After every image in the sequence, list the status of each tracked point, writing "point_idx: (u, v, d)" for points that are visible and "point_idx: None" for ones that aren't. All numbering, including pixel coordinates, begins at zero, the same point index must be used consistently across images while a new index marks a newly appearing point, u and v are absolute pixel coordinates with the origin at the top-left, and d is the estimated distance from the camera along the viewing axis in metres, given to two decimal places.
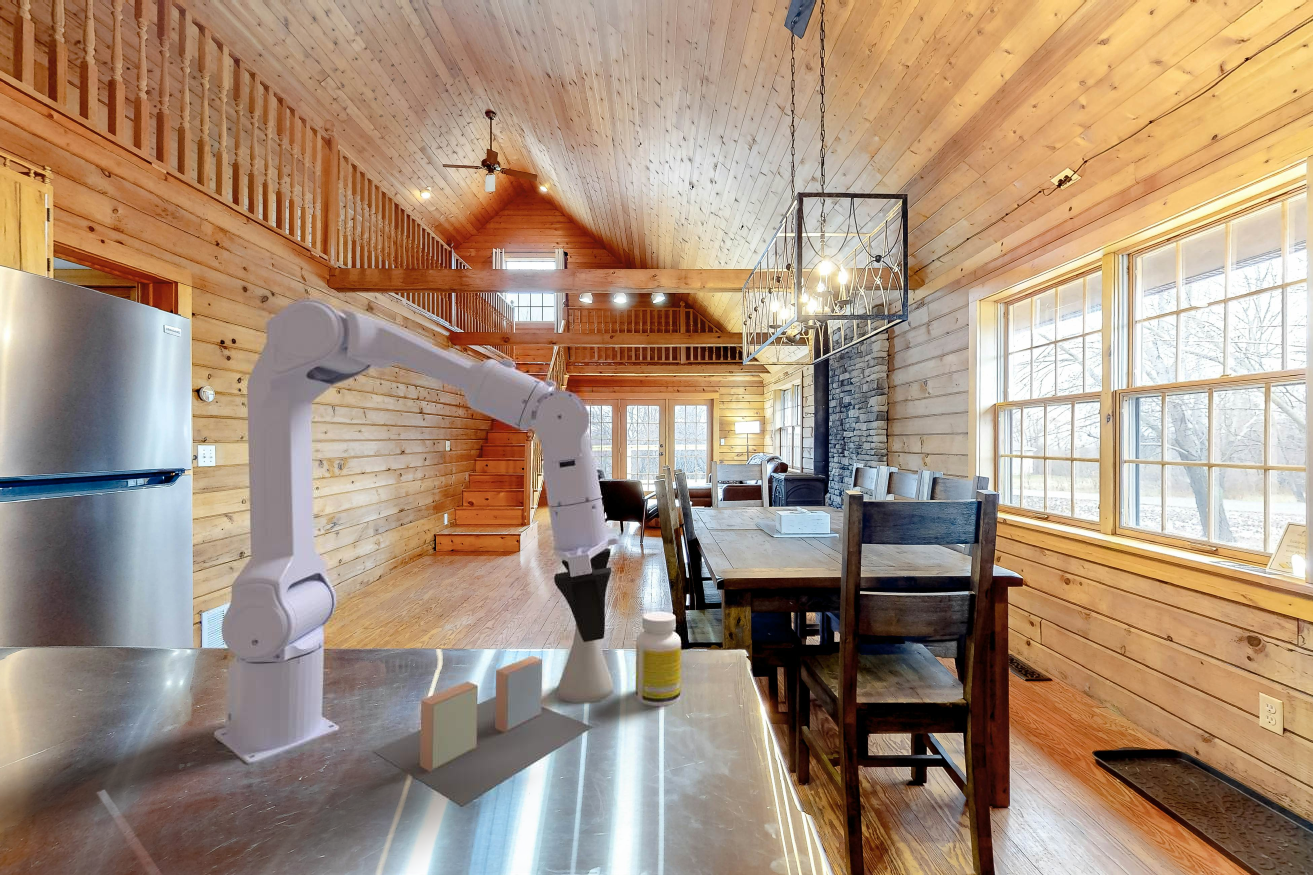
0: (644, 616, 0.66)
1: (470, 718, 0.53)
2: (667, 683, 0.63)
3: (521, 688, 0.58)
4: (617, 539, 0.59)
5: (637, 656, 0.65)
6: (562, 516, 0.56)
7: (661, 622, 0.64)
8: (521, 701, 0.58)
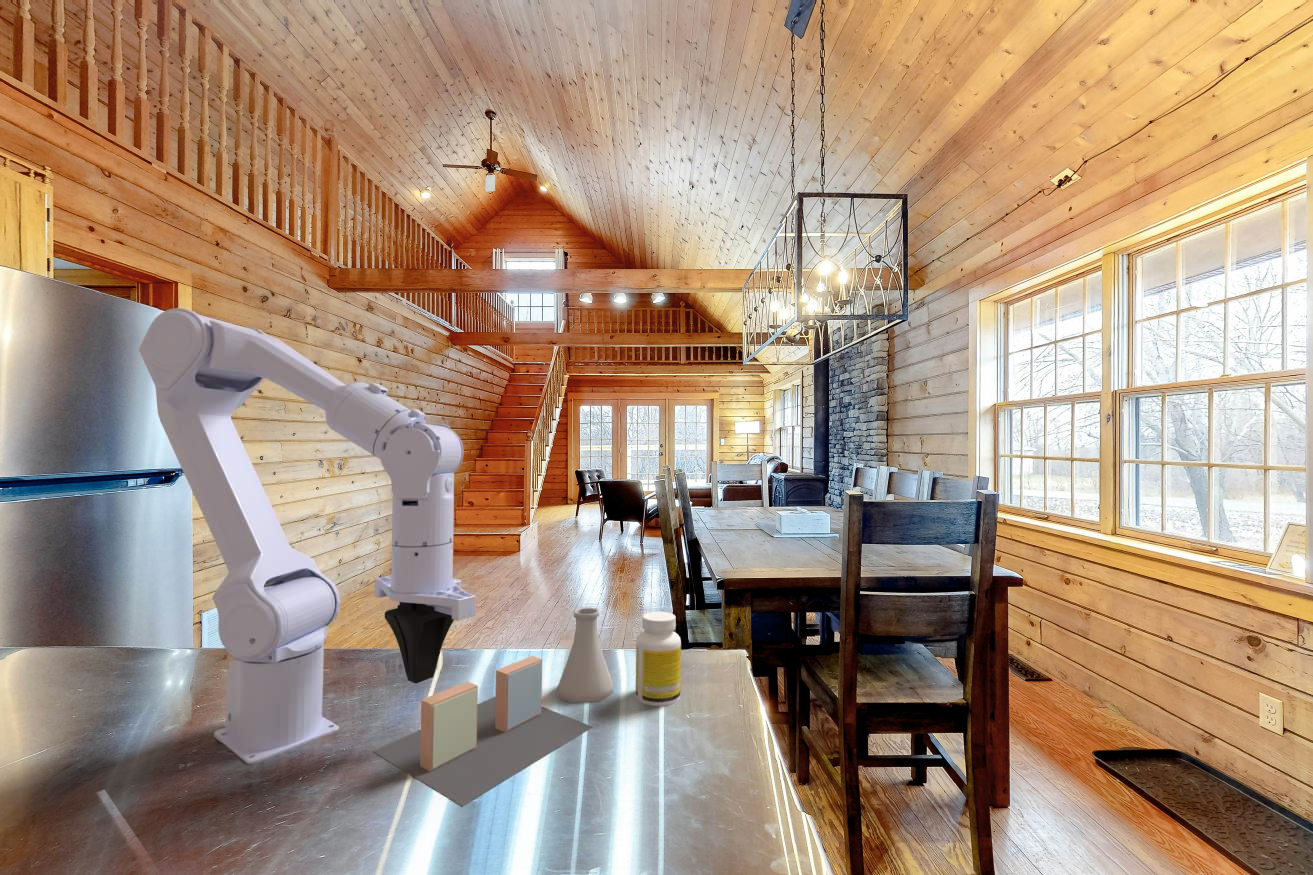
0: (644, 616, 0.66)
1: (470, 718, 0.53)
2: (667, 683, 0.63)
3: (521, 688, 0.58)
4: (460, 582, 0.58)
5: (637, 656, 0.65)
6: (425, 557, 0.53)
7: (661, 622, 0.64)
8: (521, 701, 0.58)
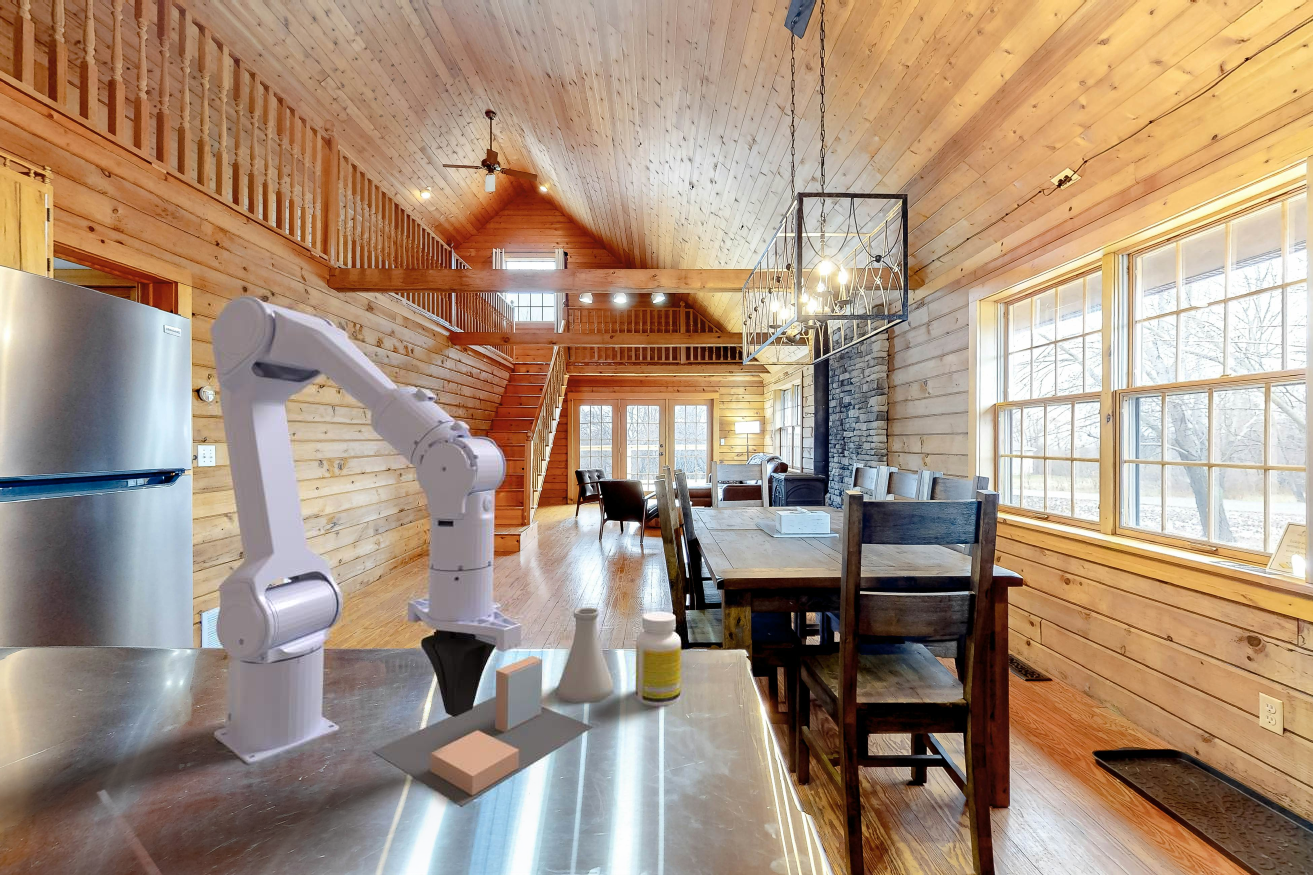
0: (644, 616, 0.66)
1: None
2: (667, 683, 0.63)
3: (521, 688, 0.58)
4: None
5: (637, 656, 0.65)
6: (466, 582, 0.49)
7: (661, 622, 0.64)
8: (521, 701, 0.58)
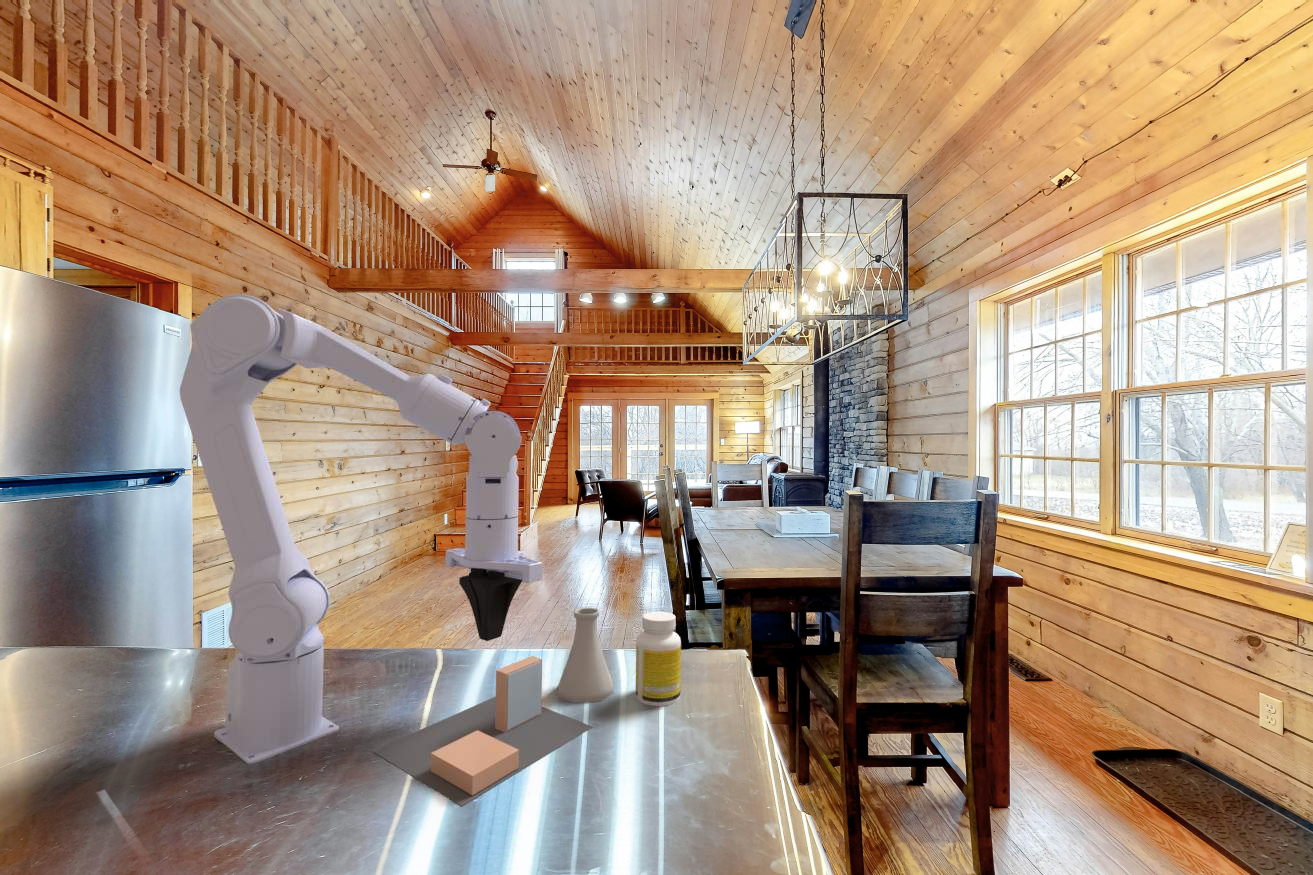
0: (644, 616, 0.66)
1: None
2: (667, 683, 0.63)
3: (521, 688, 0.58)
4: (522, 553, 0.65)
5: (637, 656, 0.65)
6: (497, 529, 0.60)
7: (661, 622, 0.64)
8: (521, 701, 0.58)
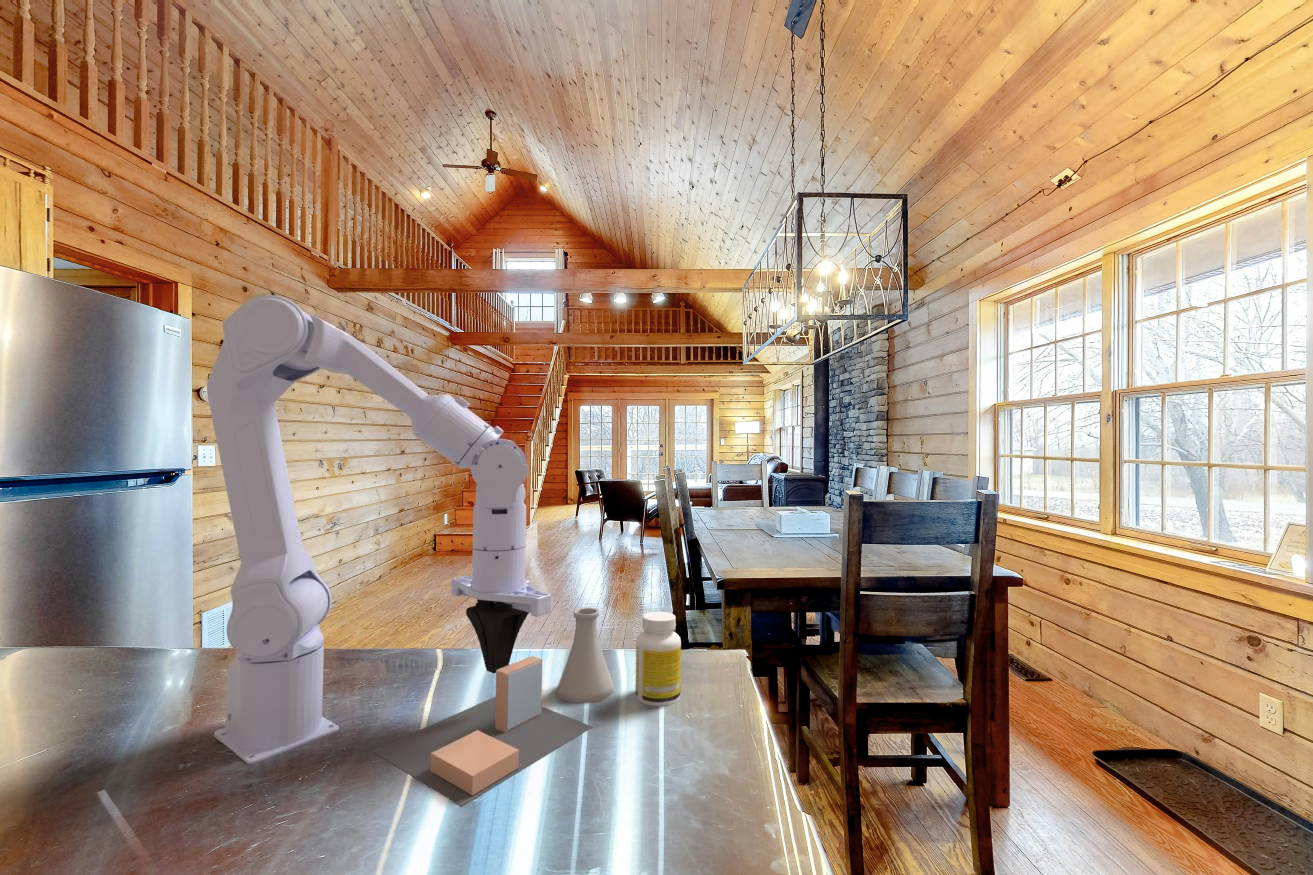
0: (644, 616, 0.66)
1: None
2: (667, 683, 0.63)
3: (521, 688, 0.58)
4: None
5: (637, 656, 0.65)
6: (504, 560, 0.59)
7: (661, 622, 0.64)
8: (521, 701, 0.58)
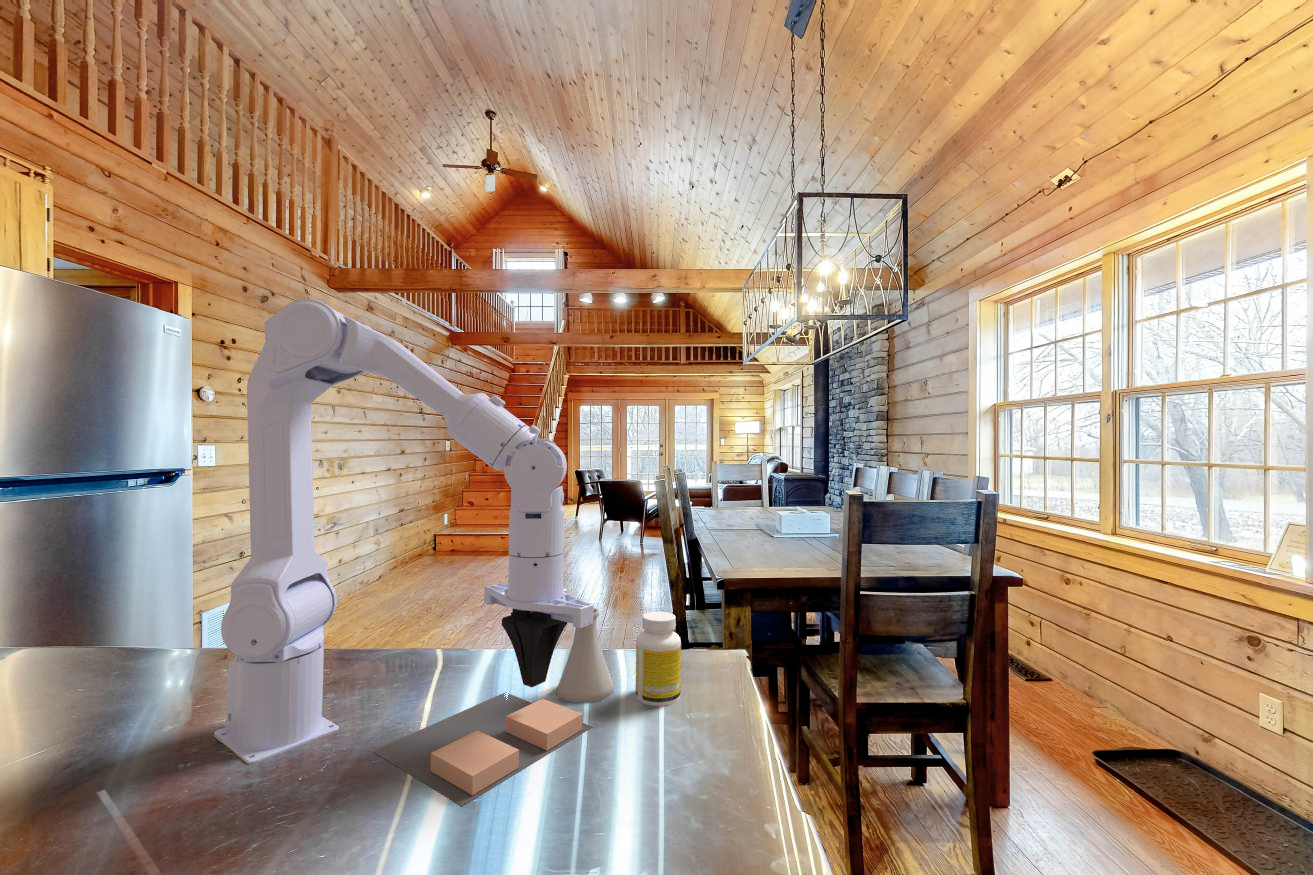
0: (644, 616, 0.66)
1: None
2: (667, 683, 0.63)
3: None
4: (567, 590, 0.61)
5: (637, 656, 0.65)
6: (543, 568, 0.56)
7: (661, 622, 0.64)
8: None
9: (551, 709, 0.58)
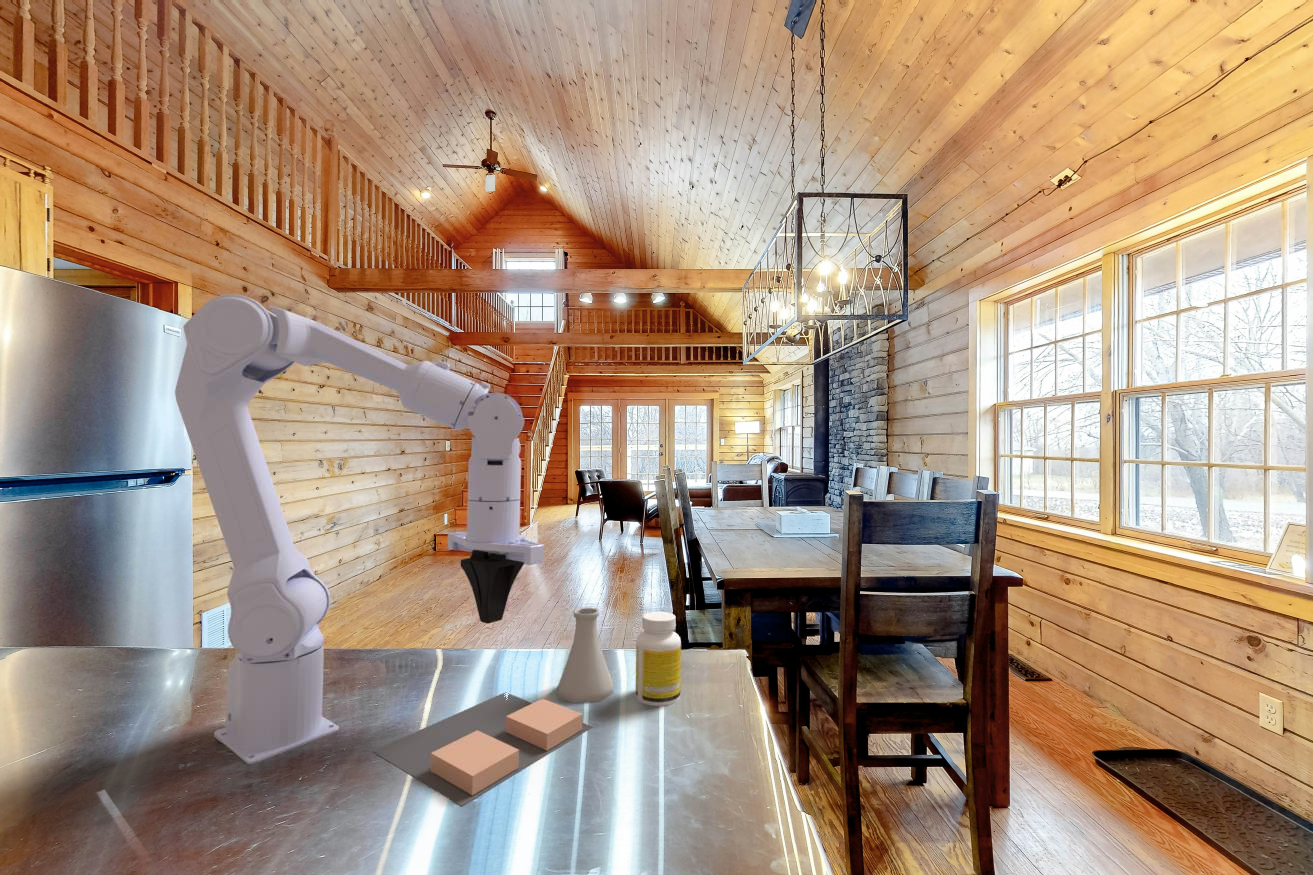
0: (644, 616, 0.66)
1: None
2: (667, 683, 0.63)
3: None
4: (524, 537, 0.65)
5: (637, 656, 0.65)
6: (498, 511, 0.60)
7: (661, 622, 0.64)
8: None
9: (551, 709, 0.58)
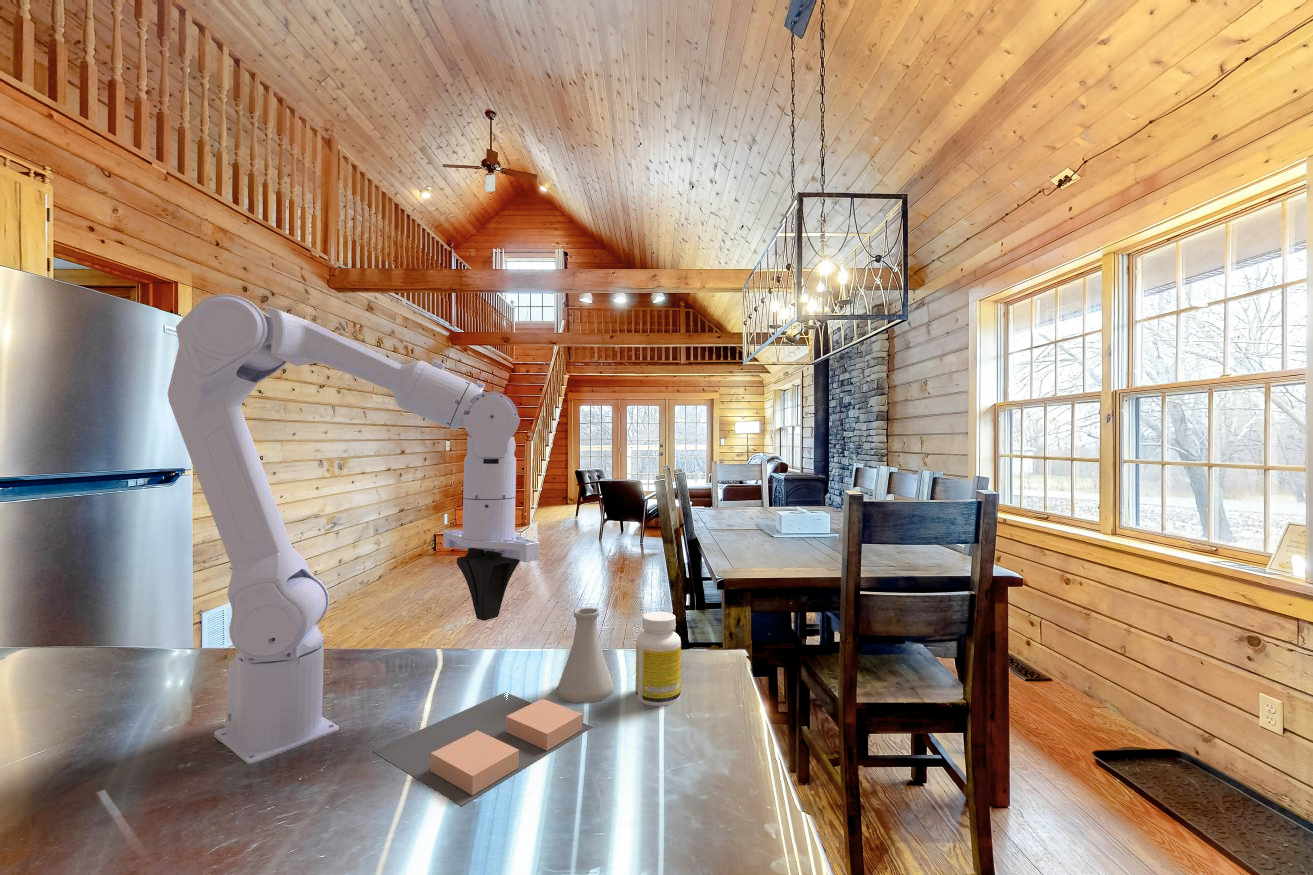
0: (644, 616, 0.66)
1: None
2: (667, 683, 0.63)
3: None
4: None
5: (637, 656, 0.65)
6: (494, 509, 0.60)
7: (661, 622, 0.64)
8: None
9: (551, 709, 0.58)
